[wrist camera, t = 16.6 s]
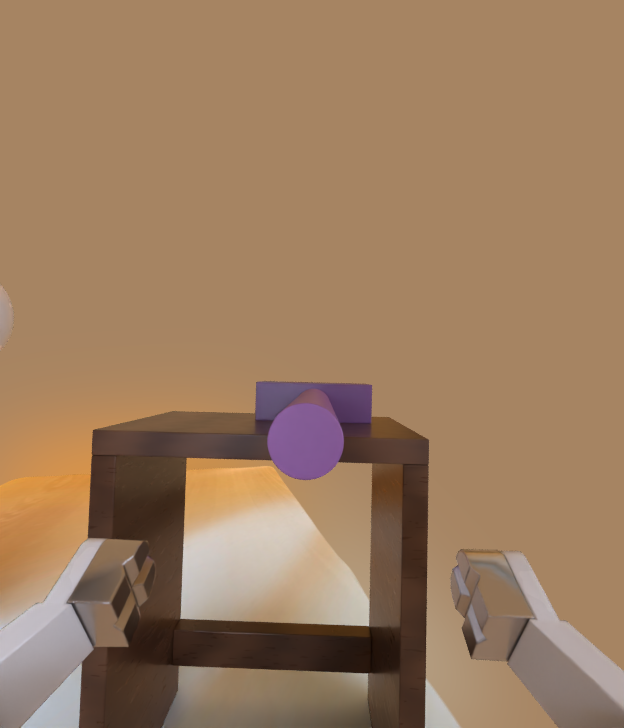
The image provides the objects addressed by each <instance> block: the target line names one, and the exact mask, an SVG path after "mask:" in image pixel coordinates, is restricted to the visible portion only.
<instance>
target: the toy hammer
mask: <svg viewBox="0 0 624 728" xmlns="http://www.w3.org/2000/svg"><path fill="white" fill-rule="evenodd" d="M371 408H372V385H369V384H351V383H313V382H311V383H310V382H275V381H262V382H256V410H255V420H258V421H273V422H272V424H271V426H270V428H269V432H268V438H267V445H268V451H269V454H270V457H271V459H272V461H273V462H274V464H275V465H276V466H277V468H278V469H280V470H281V471H282V472H283V473H285V474H286V475H288V476H290V477H293V478H295V479H300V480H311V479H316V478H319V477H321V476H323V475H325V474H327V473H328V472H329V471H331V470H332V469H333V468H334V467H335V466H336V464H337V463H338V461H339V459H340V457H341V455H342V452H343V447H344V436H343V431H342V428H341V426H340V423H364V424H371Z"/></svg>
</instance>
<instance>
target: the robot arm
mask: <svg viewBox="0 0 624 728" xmlns="http://www.w3.org/2000/svg"><path fill="white" fill-rule="evenodd" d="M13 324H14V311H13V307H12V303H11V301H10V298H9V296H8V294H7V292H6V291H5V289H4V287H3V286H2V285H1V284H0V351H1V350H2V348H3V347H4V346H5V344H6V343H7V341H8V339H9V338H10V335H11V332H12V330H13ZM150 549H151V548H150V546H149V543H148V541H145V540H122V539H104V538H88V539H87V540H85V541H84V542H83V543H82V544H81V545H80V547H79V548H78V550H77V551H76V553H75V554H74V556H73V557H72V559H71V560H70V562H69V564H68V565H67V567H66V568H65V570H64V571H63V573H62V574H61V576H60V577H59V579H58V580H57V582H56V583H55V585H54V586H53V588H52V589H51V591H50V592H49V594H48V596H47V597H46V599H45V600H44V602H43V603H36V604H34V605H33V606H32V607H30V608H29V609H28V610H26V611H25V612H24V613H22V614H21V615H20V616H18V617H17V618H16V619H14V620H13V621H12V622H10V623H9V624H8V625H6V626H5V627H4V628H2V629H1V630H0V728H20V727H21V726H22V725H23V724H24V723H25V722H26V721H27V720H28V719H29V718H30V717H31V716H32V715H33V713H34V712H35V711H36V710H37V709H38V708H39V707H40V706H41V705H42V704H43V703H44V702H45V701H46V700H47V699H48V697H49V696H50V695H51V694H52V693H53V692H54V691H55V690H56V689H57V688H58V687H59V686H60V685H61V684H62V683H63V682H64V680H65V679H66V678H67V677H68V676H69V675H70V674H71V673H72V672H73V671H74V670H75V669H76V668H77V667H78V666H79V664H80V663H81V662H82V661H83V660H84V659H85V658H86V657H87V656H88V655H89V654H90V653H91V652H92V651H93V650H94V648H93V647H129V645H130V642H131V640H132V637H133V635H134V633H135V630H136V628H137V625H138V623H139V621H140V618H141V616H140V612H139V607H140V606H141V605H142V604H143V603H144V602H145V601H147V600H148V599H149V596H150V594H151V591H152V588H153V585H154V580H155V575H156V565H155V562H154V559H152V558H151V557H150V556H148V553H149V551H150ZM456 560H457V563H458V565H457V566H456V567H455V568H453V569H452V574H451V592H452V597H453V601H454V604H455V608H456V610H457V611H458V612H459V613H460V614H461V615H462V616H463V617H464V618H465V620H464V623H463V626H462V631H463V634H464V637H465V640H466V644H467V647H468V650H469V653H470V656H471V659H476V660H492V661H507V662H508V663H507V664H508V665H509V666H510V668H511V669H512V670H513V672H514V673H515V674H516V675H517V677H518V678H519V679H520V680H521V682H522V683H523V684H524V685H525V686H526V688H527V689H528V690H529V691H530V693H531V694H532V695H533V696H534V698H535V699H536V700H537V701H538V703H539V704H540V705H541V706H542V708H543V709H544V710H545V711H546V713H547V714H548V715H549V716H550V717H551V719H552V720H553V721H554V723H555V724H556V725H557V726H558V727H559V728H624V671H623V670H622V669H621V668H619V667H618V666H617V665H616V664H615V663H614V662H613V661H612V660H610V659H609V658H608V657H607V656H606V655H604V653H602V652H601V651H600V650H599V649H598V648H597V647H596V646H594V645H593V644H592V643H591V642H590V641H589V640H588V639H587V638H585V637H584V636H583V635H582V634H581V633H580V632H579V631H577V630H576V629H575V628H574V627H573V626H572V625H571V624H569V623H568V622H567V621H565V620H559V618H558V616H557V615H556V613H555V611H554V609H553V607H552V605H551V603H550V601H549V600H548V598H547V596H546V595H545V592H544V590H543V588H542V586H541V585H540V583H539V581H538V579H537V577H536V575H535V573H534V572H533V570H532V568H531V566H530V564H529V562H528V560H527V559H526V557H525V555H524V554H523V553H522V552H520V551H499V550H470V549H469V550H468V549H461V550H460V551H458V553H457V556H456Z"/></svg>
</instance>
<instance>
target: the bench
mask: <svg viewBox="0 0 624 728" xmlns="http://www.w3.org/2000/svg"><path fill="white" fill-rule="evenodd" d="M272 422H273V421H258V420H255V414H250V413H216V412H177V411H172V412H168V413H164V414H160V415H155V416H151V417H147V418H142V419H138V420H134V421H130V422H125V423H121V424H117V425H112V426H108V427H104V428H100V429H95V430H93V438H92V463H91V483H90V505H89V526H88V538H104V539H122V540H145V541H148V543H149V546H150V548H151V549H150V551H149V553H148V556H150V557H151V558H152V559H154V562H155V565H156V575H155V580H154V585H153V588H152V591H151V594H150V596H149V599H148V600H147V601H145V602H144V603H143V604H142V605H141V606H140V607H139V612H140V616H141V618H140V621H139V623H138V625H137V628H136V630H135V633H134V635H133V637H132V640H131V642H130V645H129V647H93V648H94V650H93V651H92V652H91V653H90V654H89V655H88V656H87V657H86V658H85V659H84V660H83V661H82V675H81V696H80V718H79V728H161V727H162V724H163V722H164V720H165V718H166V716H167V713H168V711H169V709H170V707H171V704H172V702H173V700H174V698H175V695H176V693H177V691H178V670H179V666H198V667H222V668H247V669H271V670H296V671H321V672H345V673H368V703H369V710H370V717H371V723H372V728H425V681H426V609H427V607H426V605H427V538H428V537H427V536H428V531H427V530H428V463H429V440H428V439H426V438H425V437H423V436H421V435H419V434H417V433H416V432H414V431H412V430H411V429H409V428H407V427H405V426H403V425H402V424H400V423H398V422H396V421H395V420H393V419H391V418H389V417H371V424H364V423H340V426H341V428H342V431H343V436H344V447H343V452H342V455H341V457H340V459H339V461H338V462H347V463H348V462H349V463H372V506H371V508H372V509H371V560H370V562H371V563H370V609H369V626H349V625H323V624H296V623H270V622H244V621H218V620H192V619H180V617H181V590H182V564H183V537H184V511H185V484H186V458H214V459H247V460H272V459H271V457H270V454H269V451H268V445H267V438H268V432H269V428H270V426H271V424H272Z"/></svg>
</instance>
